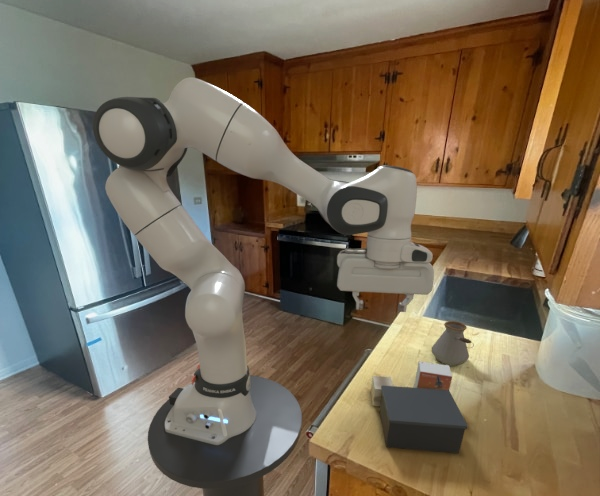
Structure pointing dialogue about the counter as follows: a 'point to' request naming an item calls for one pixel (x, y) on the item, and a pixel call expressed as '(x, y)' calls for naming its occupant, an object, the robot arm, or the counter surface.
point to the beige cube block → (378, 388)
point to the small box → (433, 376)
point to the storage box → (421, 419)
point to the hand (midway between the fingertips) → (380, 309)
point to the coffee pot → (452, 345)
